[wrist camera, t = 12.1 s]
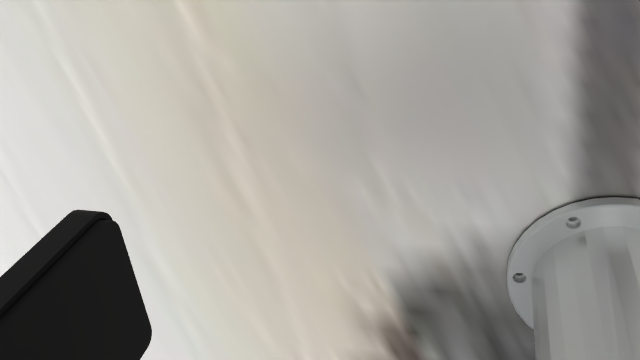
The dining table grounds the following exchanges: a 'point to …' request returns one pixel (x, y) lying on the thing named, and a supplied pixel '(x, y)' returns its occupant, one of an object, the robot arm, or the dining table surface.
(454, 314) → the dining table surface
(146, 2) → the dining table surface
